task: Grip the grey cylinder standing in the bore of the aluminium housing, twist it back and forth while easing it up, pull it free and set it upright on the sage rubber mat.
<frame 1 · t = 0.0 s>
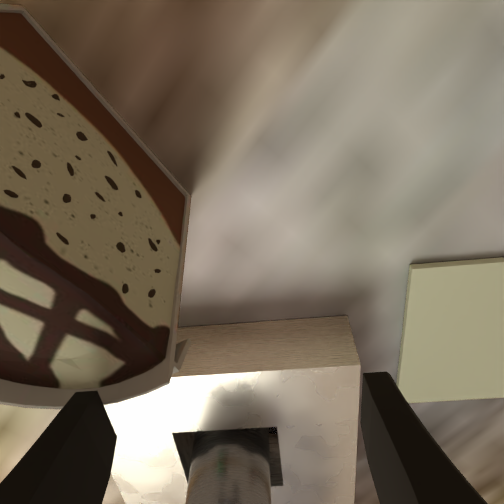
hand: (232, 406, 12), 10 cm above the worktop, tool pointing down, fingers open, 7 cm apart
housing: (233, 408, 28), on the worktop
grey cylinder: (230, 468, 24), in the housing
food container: (66, 152, 19), on the worktop
mat: (494, 332, 24), on the worktop
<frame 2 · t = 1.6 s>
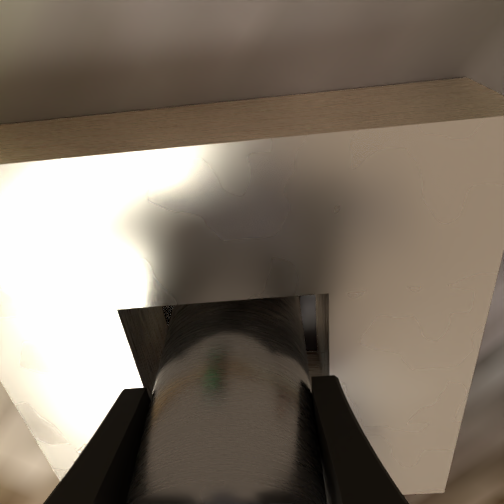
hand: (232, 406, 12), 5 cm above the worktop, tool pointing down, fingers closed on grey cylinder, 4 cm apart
housing: (237, 300, 16), on the worktop
grey cylinder: (233, 387, 13), in the housing, touching gripper
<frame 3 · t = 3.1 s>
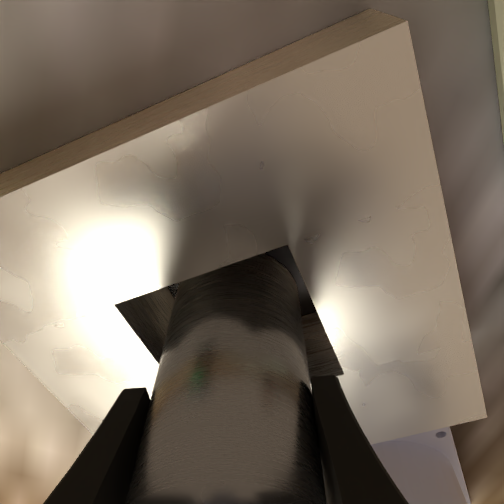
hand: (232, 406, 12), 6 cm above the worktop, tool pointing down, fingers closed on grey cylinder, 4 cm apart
housing: (238, 277, 17), on the worktop
grey cylinder: (233, 388, 13), point 5 cm above the worktop, touching gripper
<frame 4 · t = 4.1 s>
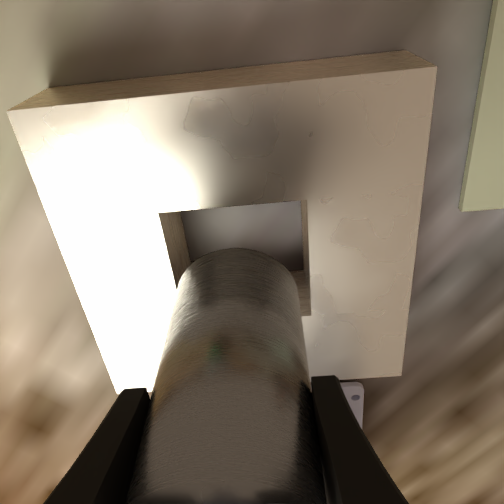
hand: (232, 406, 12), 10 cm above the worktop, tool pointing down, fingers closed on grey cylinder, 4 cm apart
housing: (242, 226, 21), on the worktop
grey cylinder: (233, 387, 13), point 10 cm above the worktop, touching gripper
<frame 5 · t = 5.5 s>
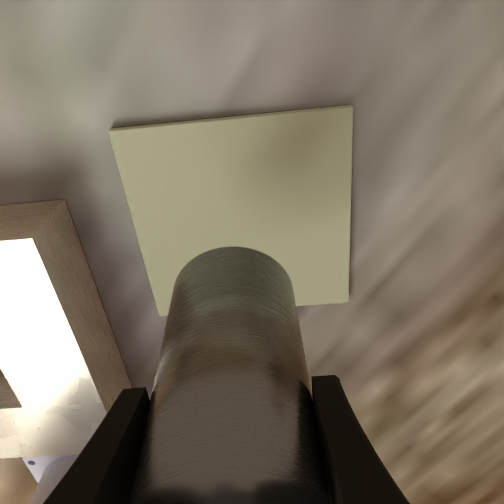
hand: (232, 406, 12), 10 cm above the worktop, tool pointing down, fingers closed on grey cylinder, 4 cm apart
grey cylinder: (232, 383, 13), point 10 cm above the worktop, touching gripper
mat: (242, 222, 21), on the worktop
when the fingers open (6 cm above the worktop, at t = 6.7 s): grey cylinder stays where it is, resting on mat.
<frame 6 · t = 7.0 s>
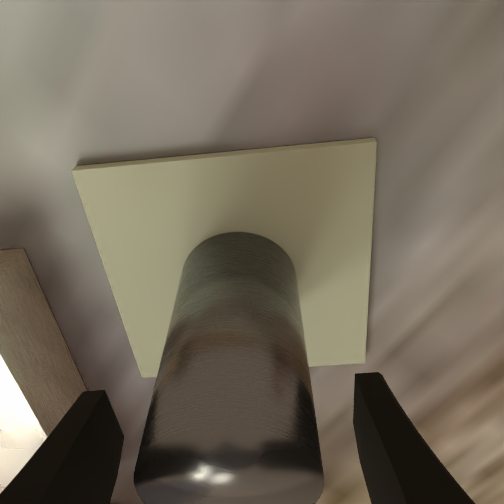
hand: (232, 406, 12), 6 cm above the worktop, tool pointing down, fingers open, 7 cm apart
grey cylinder: (235, 358, 14), on the mat
mat: (239, 274, 17), on the worktop
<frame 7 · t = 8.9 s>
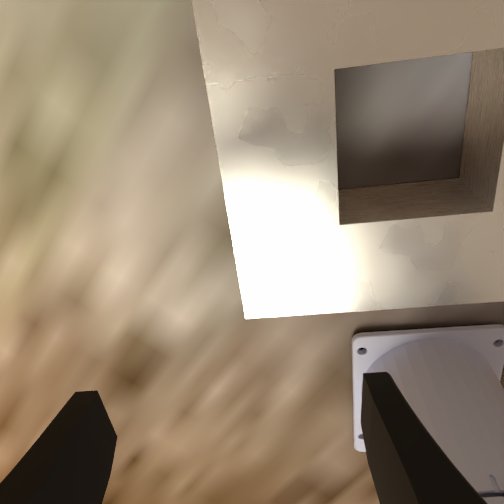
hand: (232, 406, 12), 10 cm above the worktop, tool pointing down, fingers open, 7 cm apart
housing: (395, 120, 18), on the worktop
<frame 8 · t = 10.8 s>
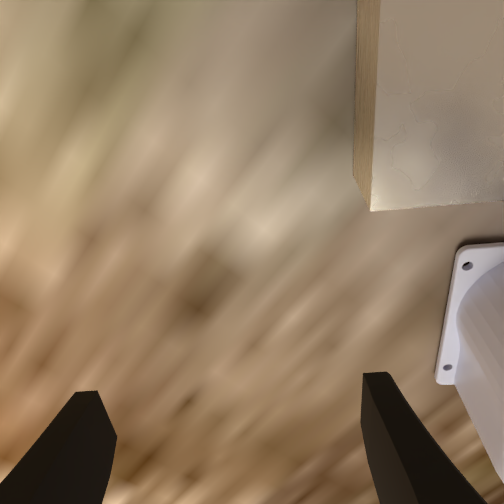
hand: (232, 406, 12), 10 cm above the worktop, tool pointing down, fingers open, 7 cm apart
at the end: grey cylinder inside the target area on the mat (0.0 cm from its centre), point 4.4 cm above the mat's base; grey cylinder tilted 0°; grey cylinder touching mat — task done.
